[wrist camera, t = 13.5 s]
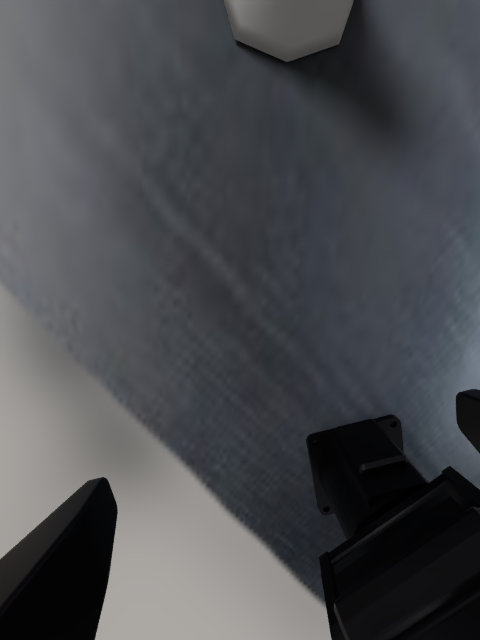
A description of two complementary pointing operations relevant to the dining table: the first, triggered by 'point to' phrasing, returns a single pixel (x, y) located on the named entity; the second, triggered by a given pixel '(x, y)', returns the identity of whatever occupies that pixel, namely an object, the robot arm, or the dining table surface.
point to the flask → (288, 25)
